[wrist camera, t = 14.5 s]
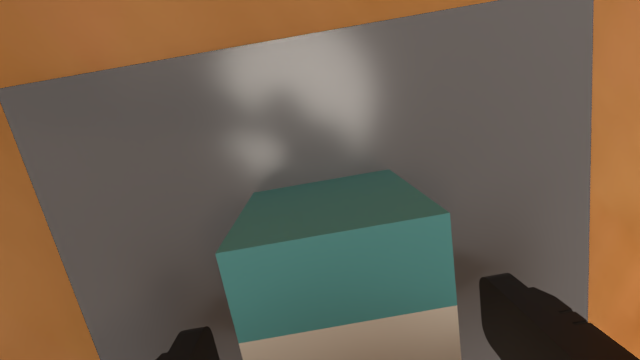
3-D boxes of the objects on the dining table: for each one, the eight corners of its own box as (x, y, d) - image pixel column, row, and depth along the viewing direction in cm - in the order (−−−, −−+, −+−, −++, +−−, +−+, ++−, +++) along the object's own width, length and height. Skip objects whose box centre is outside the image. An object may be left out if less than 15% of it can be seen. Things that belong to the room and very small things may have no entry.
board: (156, 480, 13) (151, 492, 13) (7, 90, 10) (-5, 89, 9) (577, 404, 13) (586, 412, 13) (582, -12, 10) (593, -17, 9)
